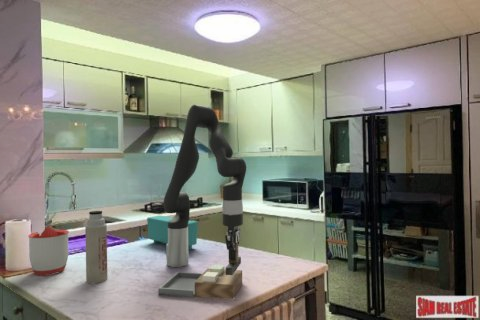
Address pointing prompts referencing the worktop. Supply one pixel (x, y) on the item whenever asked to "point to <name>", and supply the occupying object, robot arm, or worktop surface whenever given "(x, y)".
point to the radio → (160, 230)
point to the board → (219, 285)
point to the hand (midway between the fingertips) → (233, 258)
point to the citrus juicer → (48, 251)
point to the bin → (180, 285)
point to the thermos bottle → (96, 248)
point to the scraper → (233, 262)
